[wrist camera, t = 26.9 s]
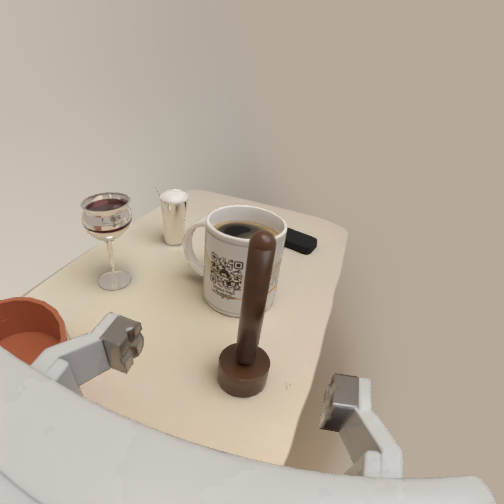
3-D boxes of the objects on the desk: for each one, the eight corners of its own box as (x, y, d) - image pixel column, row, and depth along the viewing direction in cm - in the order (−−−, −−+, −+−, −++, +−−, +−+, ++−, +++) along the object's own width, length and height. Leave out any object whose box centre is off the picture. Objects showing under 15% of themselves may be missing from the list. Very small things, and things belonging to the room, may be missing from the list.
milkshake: (154, 236, 55) (153, 182, 50) (183, 233, 57) (185, 180, 52) (158, 249, 51) (157, 192, 46) (189, 246, 53) (191, 189, 48)
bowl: (47, 453, 19) (22, 425, 17) (-44, 398, 20) (-68, 366, 17) (98, 349, 32) (88, 313, 29) (11, 320, 32) (-2, 287, 29)
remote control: (317, 247, 59) (249, 219, 65) (319, 239, 58) (250, 211, 64) (307, 258, 55) (235, 227, 61) (309, 249, 54) (237, 219, 60)
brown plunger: (264, 400, 29) (300, 254, 21) (214, 394, 29) (224, 243, 21) (266, 363, 34) (297, 221, 25) (221, 357, 34) (234, 213, 25)
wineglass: (105, 263, 46) (97, 190, 40) (143, 270, 46) (139, 194, 40) (83, 288, 40) (69, 209, 34) (125, 298, 40) (115, 215, 34)
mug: (218, 328, 38) (224, 248, 32) (181, 275, 46) (181, 204, 40) (288, 305, 43) (304, 232, 37) (243, 260, 51) (250, 195, 46)
